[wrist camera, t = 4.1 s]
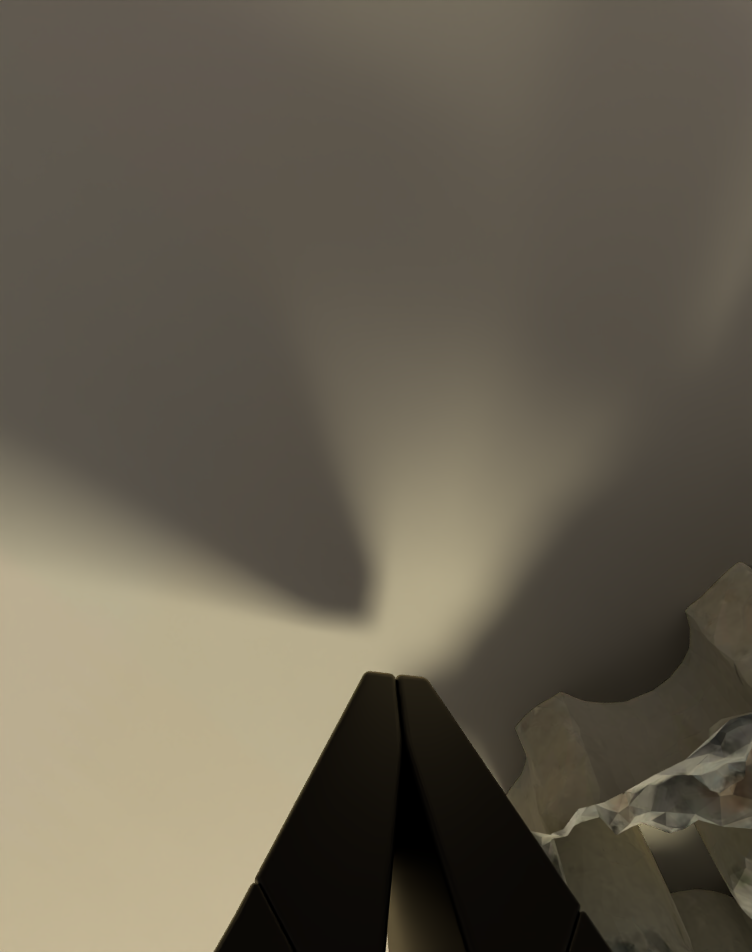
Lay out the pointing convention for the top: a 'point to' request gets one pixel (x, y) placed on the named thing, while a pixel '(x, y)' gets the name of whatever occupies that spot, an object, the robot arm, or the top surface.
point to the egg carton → (654, 787)
